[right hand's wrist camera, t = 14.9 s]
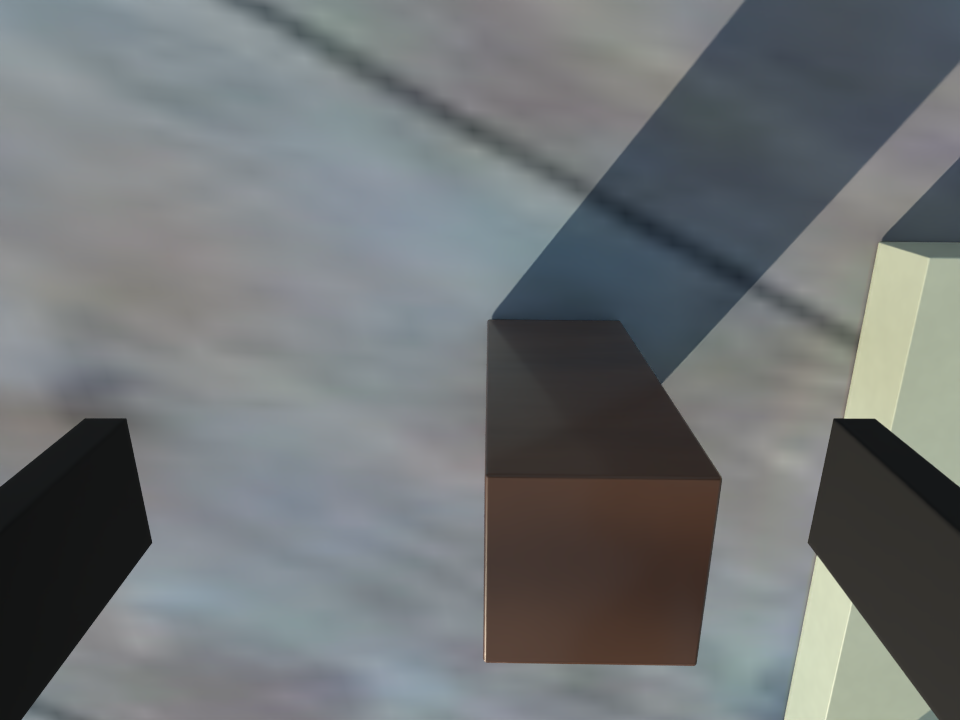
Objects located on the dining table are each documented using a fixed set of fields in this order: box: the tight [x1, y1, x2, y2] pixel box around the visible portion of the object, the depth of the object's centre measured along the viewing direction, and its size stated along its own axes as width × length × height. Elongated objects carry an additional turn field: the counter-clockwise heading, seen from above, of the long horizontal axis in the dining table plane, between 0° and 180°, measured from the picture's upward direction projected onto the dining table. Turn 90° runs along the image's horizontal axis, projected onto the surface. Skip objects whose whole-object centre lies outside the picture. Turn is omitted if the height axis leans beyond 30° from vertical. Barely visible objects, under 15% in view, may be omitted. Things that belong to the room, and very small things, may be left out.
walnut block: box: [483, 320, 722, 666], centre depth 21 cm, size 5×5×12 cm
